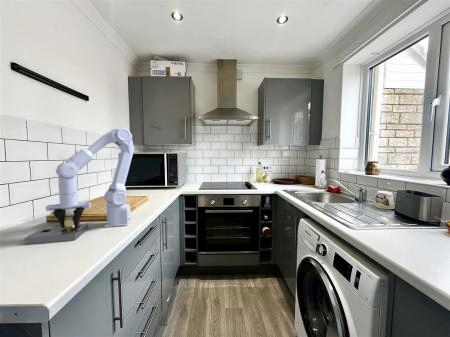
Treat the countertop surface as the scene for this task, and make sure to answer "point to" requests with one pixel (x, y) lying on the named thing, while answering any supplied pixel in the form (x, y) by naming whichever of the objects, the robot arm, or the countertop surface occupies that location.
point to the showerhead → (68, 212)
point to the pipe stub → (69, 223)
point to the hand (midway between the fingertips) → (70, 226)
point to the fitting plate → (55, 234)
